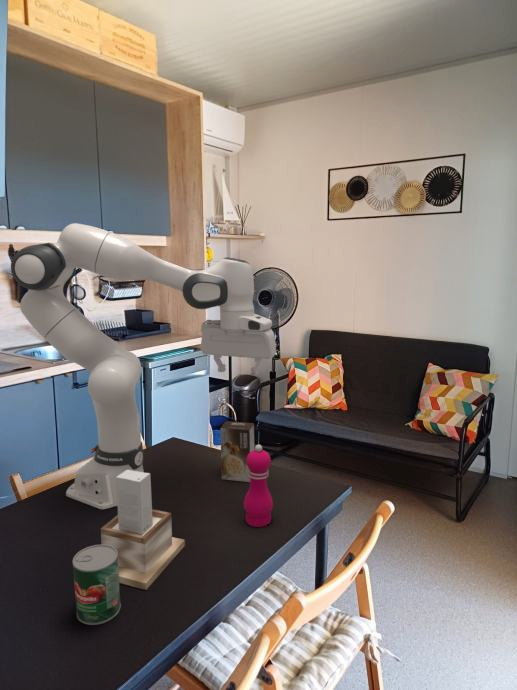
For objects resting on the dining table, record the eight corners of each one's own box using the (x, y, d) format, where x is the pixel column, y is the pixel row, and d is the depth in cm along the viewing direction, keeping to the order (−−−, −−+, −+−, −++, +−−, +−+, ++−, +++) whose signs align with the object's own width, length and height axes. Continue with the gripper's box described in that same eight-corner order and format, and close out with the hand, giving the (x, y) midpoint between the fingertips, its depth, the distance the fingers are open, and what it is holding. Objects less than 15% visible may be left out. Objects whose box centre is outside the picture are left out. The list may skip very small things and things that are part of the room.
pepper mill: (269, 529, 119) (270, 451, 116) (240, 526, 121) (240, 449, 117) (274, 514, 126) (275, 440, 123) (247, 511, 128) (247, 438, 124)
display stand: (87, 574, 103) (85, 533, 101) (132, 533, 117) (130, 497, 116) (146, 590, 98) (144, 547, 96) (184, 545, 113) (183, 508, 111)
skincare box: (153, 525, 106) (151, 473, 104) (142, 535, 103) (139, 481, 100) (129, 519, 109) (127, 468, 106) (117, 529, 105) (114, 477, 102)
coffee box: (255, 473, 150) (255, 422, 147) (250, 482, 143) (250, 430, 140) (226, 470, 152) (226, 420, 149) (220, 479, 146) (219, 427, 143)
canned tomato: (123, 593, 97) (121, 542, 95) (117, 623, 89) (114, 568, 87) (81, 597, 96) (78, 545, 94) (71, 627, 88) (67, 572, 86)
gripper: (195, 320, 129) (197, 372, 132) (269, 324, 122) (270, 378, 125) (206, 317, 135) (207, 367, 137) (277, 321, 128) (277, 373, 130)
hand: (238, 372), depth 131 cm, fingers open, 8 cm apart
